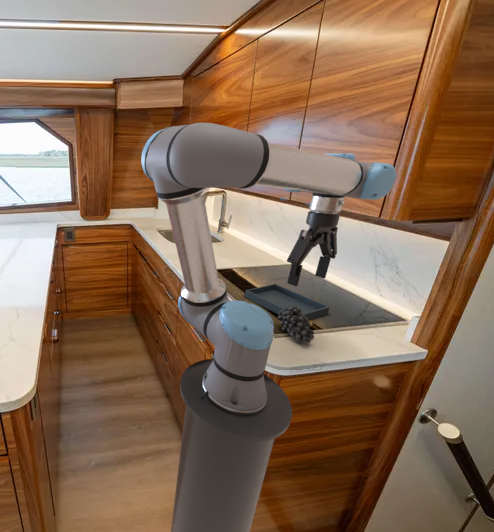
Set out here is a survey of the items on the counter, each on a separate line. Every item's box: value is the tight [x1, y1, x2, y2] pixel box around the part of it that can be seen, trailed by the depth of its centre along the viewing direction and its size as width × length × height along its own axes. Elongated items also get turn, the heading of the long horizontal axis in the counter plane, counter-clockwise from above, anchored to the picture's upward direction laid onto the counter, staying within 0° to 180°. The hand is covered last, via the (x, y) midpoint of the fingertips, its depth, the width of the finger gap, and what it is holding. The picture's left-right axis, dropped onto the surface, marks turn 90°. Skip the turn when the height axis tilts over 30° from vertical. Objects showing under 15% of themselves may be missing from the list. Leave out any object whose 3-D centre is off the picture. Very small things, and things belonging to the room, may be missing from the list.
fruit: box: [277, 306, 315, 345], centre depth 96 cm, size 9×8×15 cm
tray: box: [244, 283, 331, 321], centre depth 117 cm, size 17×23×3 cm
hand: (306, 280), depth 91 cm, fingers open, 13 cm apart
